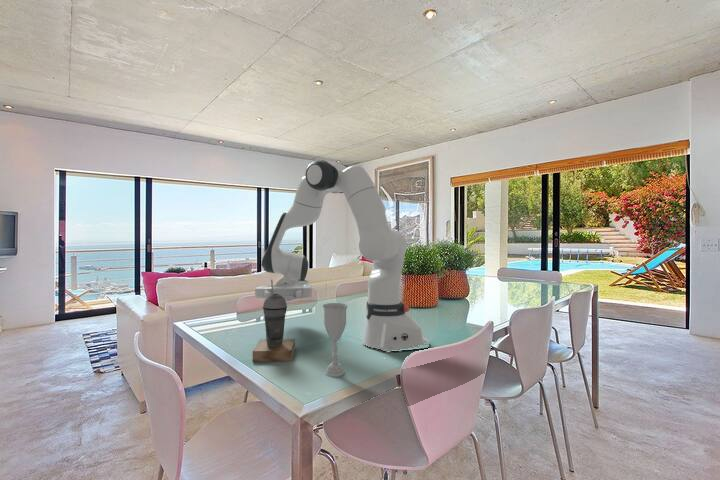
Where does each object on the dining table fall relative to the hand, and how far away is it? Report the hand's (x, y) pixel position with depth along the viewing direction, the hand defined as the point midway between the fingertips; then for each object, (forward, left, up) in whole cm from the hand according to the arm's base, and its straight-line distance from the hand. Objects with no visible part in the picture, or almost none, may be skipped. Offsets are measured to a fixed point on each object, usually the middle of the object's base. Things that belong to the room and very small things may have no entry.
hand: (281, 295), depth 118 cm
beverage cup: (0, +13, -13) cm, 18 cm away
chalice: (-18, +28, -16) cm, 37 cm away
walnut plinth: (0, +13, -16) cm, 21 cm away
